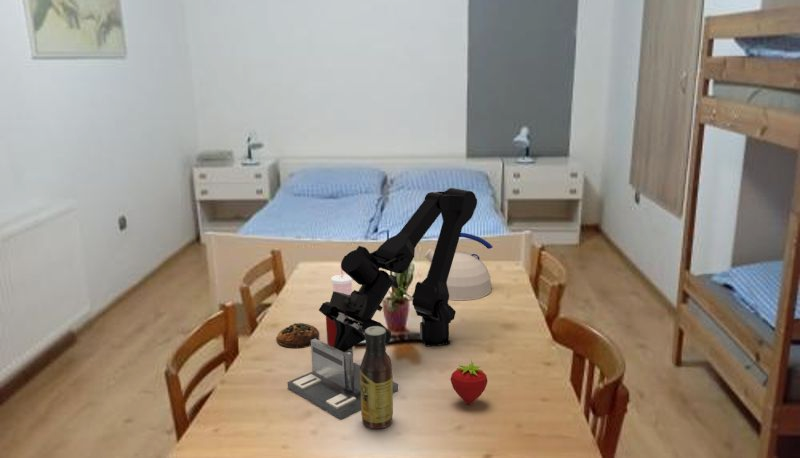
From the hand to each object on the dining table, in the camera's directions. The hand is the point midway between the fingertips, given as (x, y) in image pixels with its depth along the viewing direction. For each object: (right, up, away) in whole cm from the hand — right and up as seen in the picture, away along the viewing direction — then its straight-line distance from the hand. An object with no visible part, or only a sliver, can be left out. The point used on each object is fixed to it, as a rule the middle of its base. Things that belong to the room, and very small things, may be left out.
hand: (334, 356), depth 139 cm
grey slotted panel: (0, -5, 0) cm, 5 cm away
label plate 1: (-6, -6, +1) cm, 8 cm away
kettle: (+32, +9, +60) cm, 68 cm away
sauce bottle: (+10, -11, -12) cm, 19 cm away
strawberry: (+28, -9, -6) cm, 30 cm away
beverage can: (-1, -2, +20) cm, 20 cm away
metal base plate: (+2, -7, +1) cm, 8 cm away
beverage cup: (-2, +5, +46) cm, 46 cm away
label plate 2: (+2, -8, -7) cm, 11 cm away
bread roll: (-12, -1, +26) cm, 29 cm away
